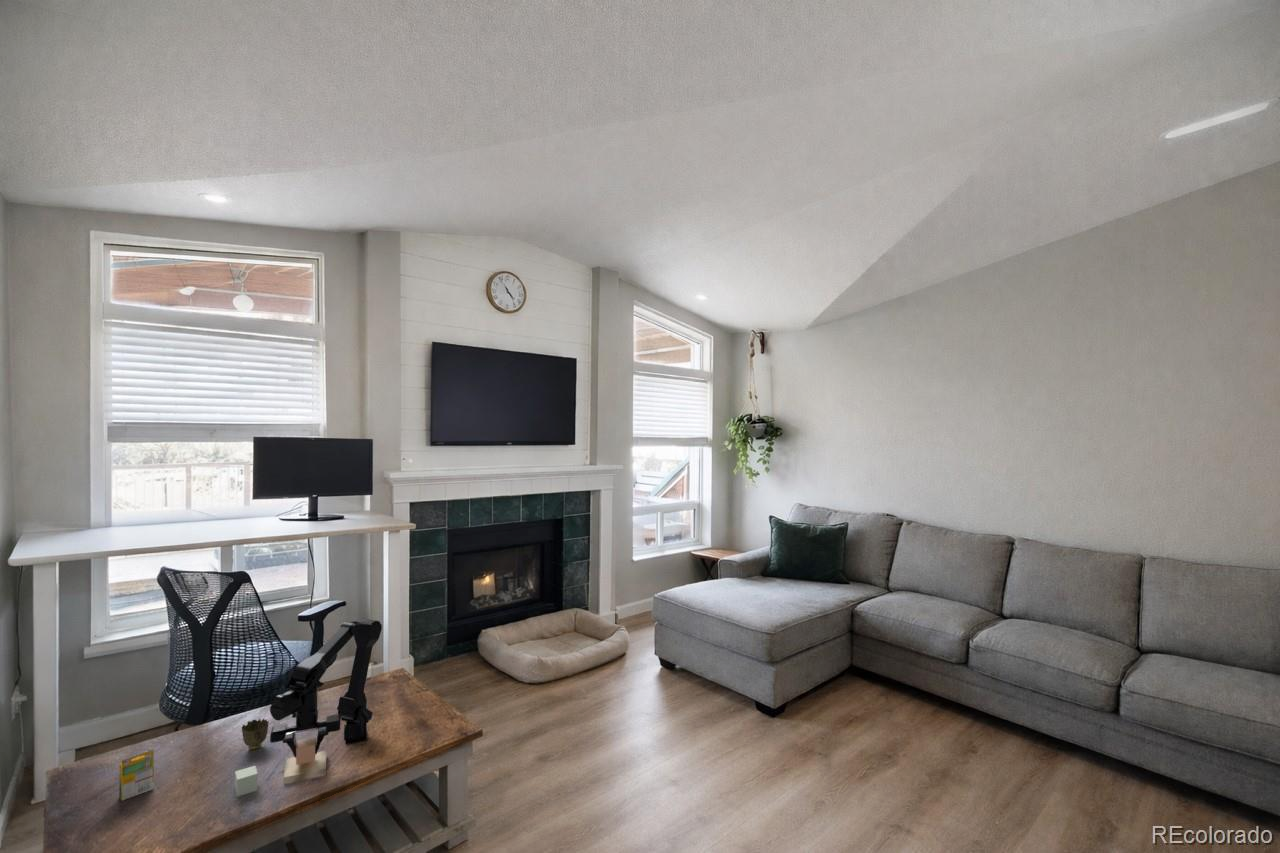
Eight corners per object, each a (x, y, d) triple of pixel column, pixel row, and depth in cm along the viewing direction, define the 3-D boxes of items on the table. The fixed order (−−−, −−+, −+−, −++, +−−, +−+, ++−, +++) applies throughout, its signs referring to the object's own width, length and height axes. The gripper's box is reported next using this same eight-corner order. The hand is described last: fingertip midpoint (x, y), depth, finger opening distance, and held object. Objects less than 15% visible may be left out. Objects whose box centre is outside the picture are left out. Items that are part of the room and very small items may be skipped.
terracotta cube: (315, 752, 188) (316, 737, 188) (314, 761, 183) (315, 745, 183) (297, 756, 186) (297, 740, 186) (296, 764, 181) (296, 748, 181)
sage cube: (255, 782, 178) (255, 765, 178) (257, 790, 174) (257, 773, 174) (234, 788, 175) (235, 771, 175) (236, 797, 171) (237, 779, 171)
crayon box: (151, 785, 176) (151, 745, 175) (154, 789, 174) (154, 749, 174) (118, 797, 170) (119, 756, 170) (121, 801, 168) (121, 760, 168)
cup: (255, 756, 192) (255, 731, 192) (235, 752, 193) (236, 728, 193) (273, 743, 199) (274, 719, 199) (254, 740, 200) (255, 717, 200)
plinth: (326, 758, 192) (326, 750, 192) (325, 776, 182) (325, 768, 182) (286, 766, 187) (286, 758, 187) (283, 786, 177) (283, 777, 177)
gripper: (341, 688, 196) (340, 736, 196) (275, 699, 188) (274, 748, 188) (340, 703, 186) (339, 753, 186) (270, 715, 178) (269, 767, 178)
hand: (306, 755), depth 185 cm, fingers closed on terracotta cube, 5 cm apart
